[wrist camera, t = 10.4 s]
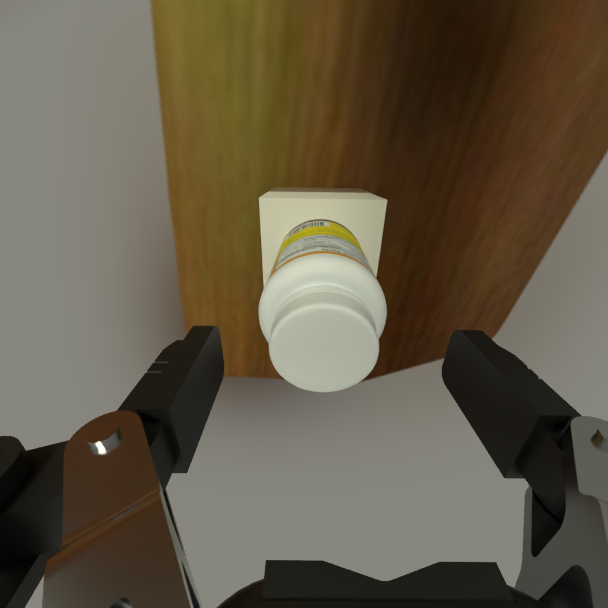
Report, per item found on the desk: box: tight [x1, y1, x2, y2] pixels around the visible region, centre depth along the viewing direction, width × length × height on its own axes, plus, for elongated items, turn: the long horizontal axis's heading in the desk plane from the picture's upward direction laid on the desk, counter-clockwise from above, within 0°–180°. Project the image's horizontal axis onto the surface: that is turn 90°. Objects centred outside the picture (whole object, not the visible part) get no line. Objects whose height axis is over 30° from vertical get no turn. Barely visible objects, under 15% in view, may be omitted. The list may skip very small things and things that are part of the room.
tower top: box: [259, 191, 387, 287], centre depth 21 cm, size 8×8×5 cm
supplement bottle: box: [259, 219, 387, 392], centre depth 14 cm, size 6×6×10 cm
